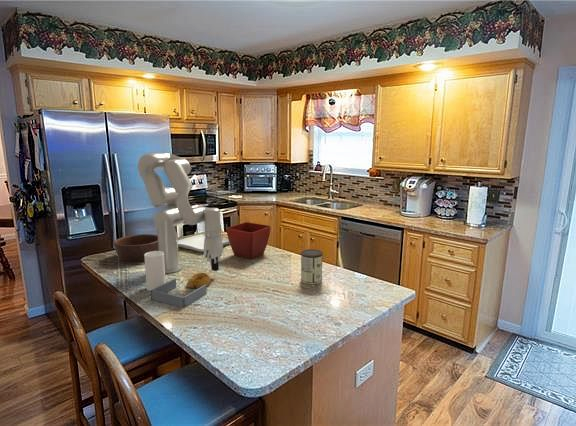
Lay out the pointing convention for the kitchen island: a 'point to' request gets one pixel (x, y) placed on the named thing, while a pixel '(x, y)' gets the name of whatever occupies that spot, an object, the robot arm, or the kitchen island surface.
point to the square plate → (197, 242)
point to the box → (162, 296)
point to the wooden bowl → (135, 247)
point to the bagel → (198, 280)
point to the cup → (154, 269)
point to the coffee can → (311, 266)
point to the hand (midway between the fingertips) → (215, 270)
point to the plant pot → (248, 239)
